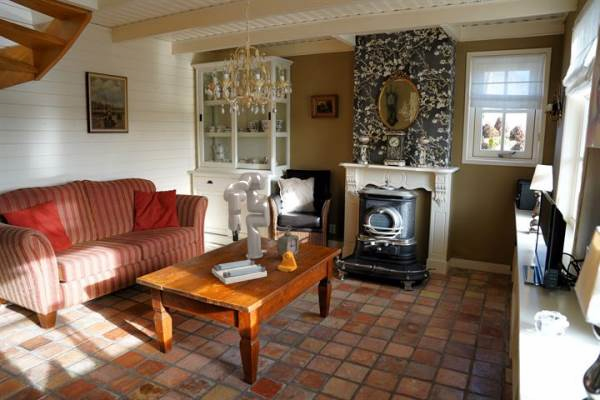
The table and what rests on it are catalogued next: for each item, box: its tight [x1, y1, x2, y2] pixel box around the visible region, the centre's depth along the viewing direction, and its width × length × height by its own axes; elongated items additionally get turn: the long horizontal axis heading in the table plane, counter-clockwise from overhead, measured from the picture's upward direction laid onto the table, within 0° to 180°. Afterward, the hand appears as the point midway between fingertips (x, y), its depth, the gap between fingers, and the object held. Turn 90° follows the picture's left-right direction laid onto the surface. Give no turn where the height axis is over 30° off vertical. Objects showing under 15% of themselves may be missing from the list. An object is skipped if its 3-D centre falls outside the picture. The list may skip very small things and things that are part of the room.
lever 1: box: [217, 259, 252, 270], centre depth 300 cm, size 22×5×2 cm, turn 121°
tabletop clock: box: [276, 224, 300, 259], centre depth 324 cm, size 14×9×25 cm, turn 143°
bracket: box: [277, 251, 298, 273], centre depth 302 cm, size 11×7×12 cm, turn 62°
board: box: [211, 257, 268, 285], centre depth 293 cm, size 28×24×6 cm
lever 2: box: [228, 266, 263, 276], centre depth 287 cm, size 22×5×2 cm, turn 121°
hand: (235, 241), depth 281 cm, fingers closed
